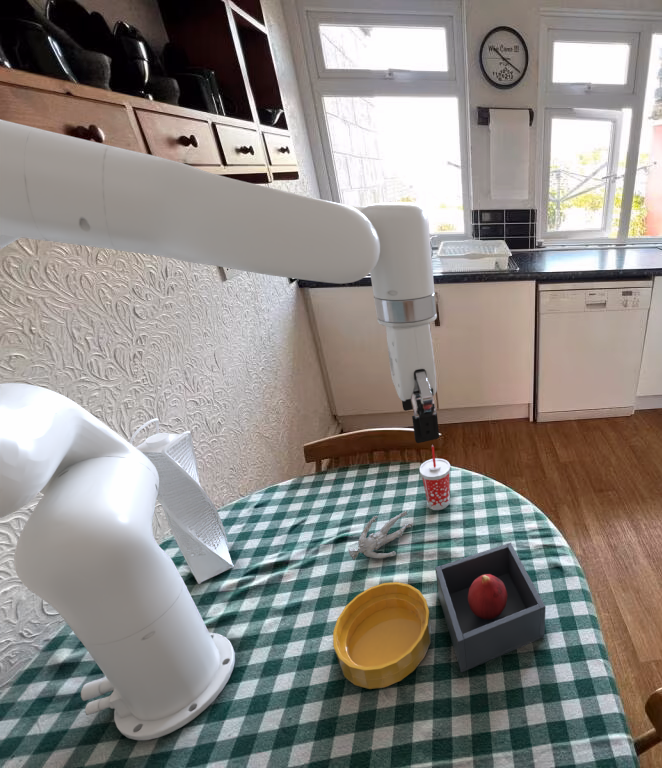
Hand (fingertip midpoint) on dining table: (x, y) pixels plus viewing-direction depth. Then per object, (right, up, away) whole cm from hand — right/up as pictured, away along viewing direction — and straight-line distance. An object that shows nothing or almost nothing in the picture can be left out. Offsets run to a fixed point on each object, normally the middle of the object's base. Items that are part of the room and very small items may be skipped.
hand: (420, 423), depth 60 cm
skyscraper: (-39, -26, +12) cm, 48 cm away
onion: (+10, -29, +3) cm, 31 cm away
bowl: (-5, -32, -1) cm, 32 cm away
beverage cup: (-2, -19, +26) cm, 32 cm away
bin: (+10, -30, +3) cm, 32 cm away
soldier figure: (-10, -24, +16) cm, 31 cm away
